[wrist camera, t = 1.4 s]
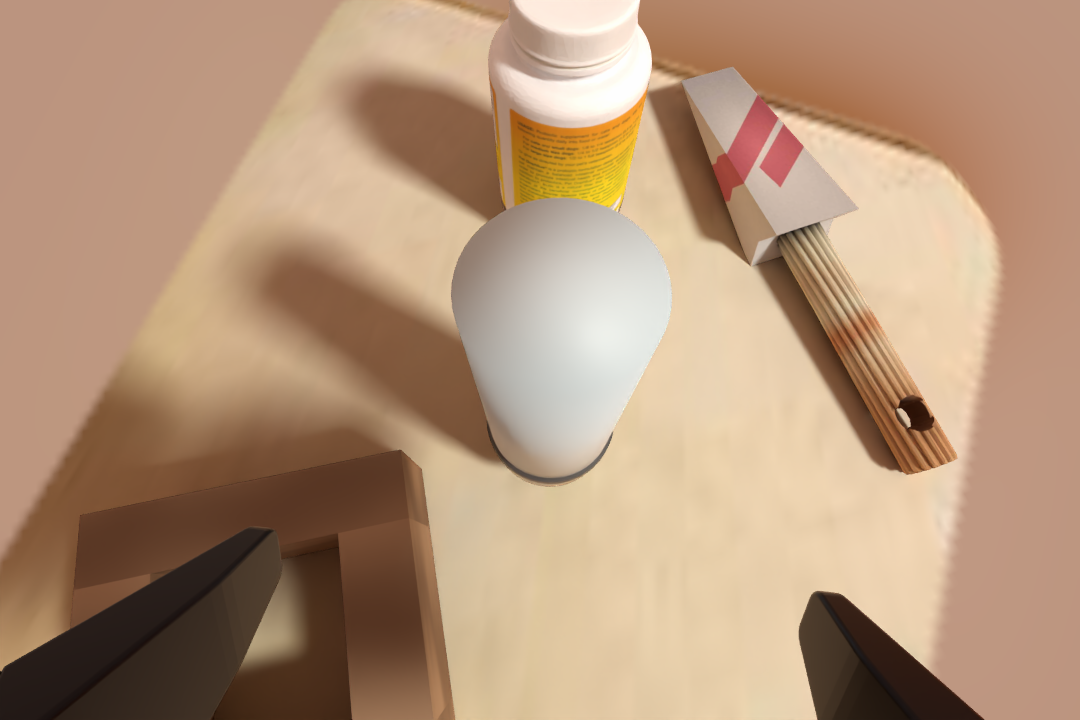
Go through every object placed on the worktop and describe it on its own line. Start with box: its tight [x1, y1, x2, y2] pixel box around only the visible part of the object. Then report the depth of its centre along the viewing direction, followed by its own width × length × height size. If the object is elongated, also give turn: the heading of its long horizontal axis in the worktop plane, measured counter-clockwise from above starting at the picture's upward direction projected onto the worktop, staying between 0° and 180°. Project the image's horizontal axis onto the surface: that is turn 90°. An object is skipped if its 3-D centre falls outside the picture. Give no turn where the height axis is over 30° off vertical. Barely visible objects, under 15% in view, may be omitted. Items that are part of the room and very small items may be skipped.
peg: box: [451, 198, 672, 487], centre depth 16 cm, size 4×4×12 cm
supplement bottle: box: [488, 0, 652, 213], centre depth 21 cm, size 6×6×10 cm
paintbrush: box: [681, 67, 957, 475], centre depth 24 cm, size 4×3×20 cm
